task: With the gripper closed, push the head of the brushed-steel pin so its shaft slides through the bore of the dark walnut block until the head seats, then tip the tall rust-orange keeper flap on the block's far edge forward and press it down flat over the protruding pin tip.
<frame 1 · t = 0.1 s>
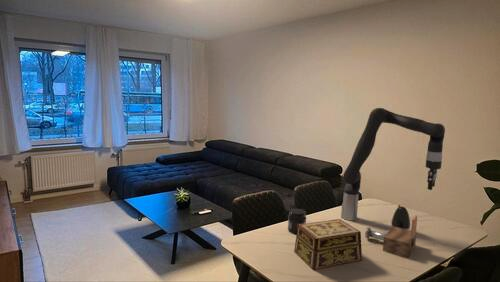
hand: (431, 187, 178), 29 cm above the table, fingers open, 8 cm apart
dark egg shape: (400, 231, 190), on the table
walnut block: (399, 247, 169), on the table
keeper flap: (414, 226, 163), point 13 cm above the table, hinge at 0.0°
supplement container: (296, 231, 188), on the table
decorative box: (327, 256, 158), on the table
steel pin: (382, 236, 173), point 4 cm above the table, slide at 0.0 cm
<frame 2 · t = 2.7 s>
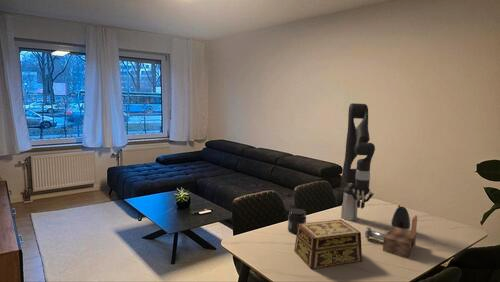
hand: (360, 207, 179), 17 cm above the table, fingers closed
nothing on the table moved.
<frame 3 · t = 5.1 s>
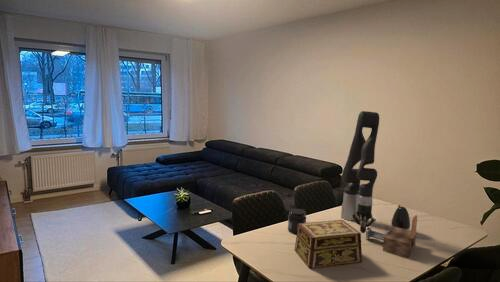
hand: (362, 232, 180), 3 cm above the table, fingers closed
steel pin: (383, 237, 173), point 4 cm above the table, slide at 0.3 cm, touching gripper
everything else where it was.
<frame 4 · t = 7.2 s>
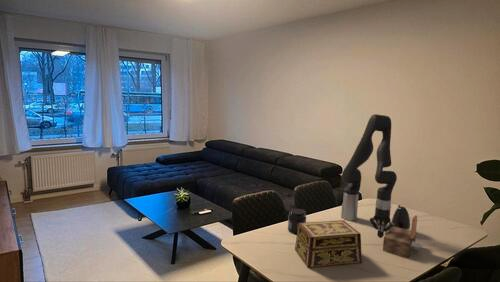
hand: (380, 237, 174), 3 cm above the table, fingers closed
steel pin: (402, 242, 167), point 4 cm above the table, slide at 9.9 cm, touching gripper
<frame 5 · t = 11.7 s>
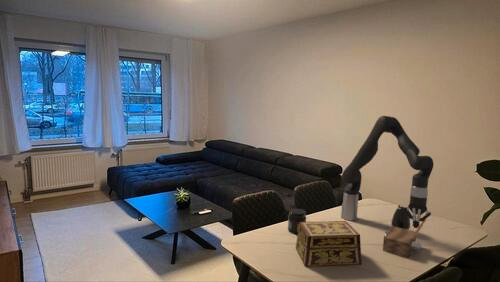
hand: (415, 227, 162), 13 cm above the table, fingers closed
keeper flap: (418, 228, 162), point 13 cm above the table, hinge at 23.1°, touching gripper
steel pin: (402, 242, 167), point 4 cm above the table, slide at 9.8 cm
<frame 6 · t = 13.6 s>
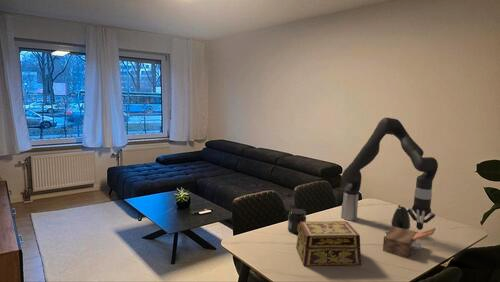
hand: (419, 229, 162), 13 cm above the table, fingers closed
keeper flap: (424, 233, 161), point 11 cm above the table, hinge at 54.8°
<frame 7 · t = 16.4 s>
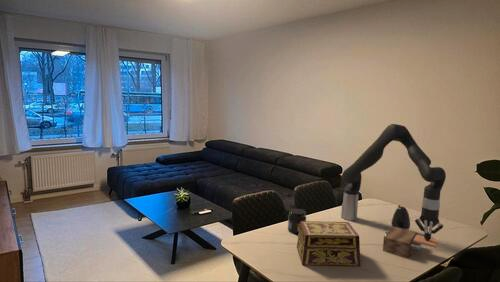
hand: (427, 239, 160), 8 cm above the table, fingers closed
keeper flap: (425, 240, 160), point 7 cm above the table, hinge at 90.2°
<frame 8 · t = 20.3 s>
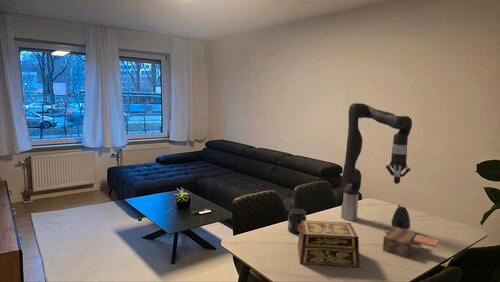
hand: (396, 183, 176), 32 cm above the table, fingers closed
at the end: steel pin slide at 9.8 cm; keeper flap at +90° (first picture: +0°) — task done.
